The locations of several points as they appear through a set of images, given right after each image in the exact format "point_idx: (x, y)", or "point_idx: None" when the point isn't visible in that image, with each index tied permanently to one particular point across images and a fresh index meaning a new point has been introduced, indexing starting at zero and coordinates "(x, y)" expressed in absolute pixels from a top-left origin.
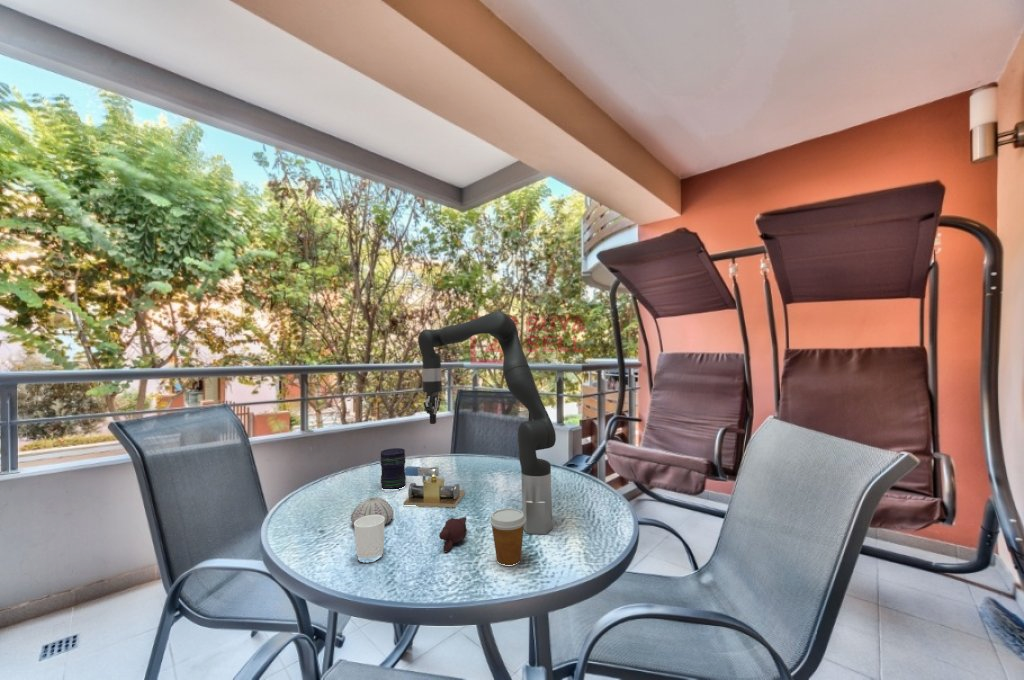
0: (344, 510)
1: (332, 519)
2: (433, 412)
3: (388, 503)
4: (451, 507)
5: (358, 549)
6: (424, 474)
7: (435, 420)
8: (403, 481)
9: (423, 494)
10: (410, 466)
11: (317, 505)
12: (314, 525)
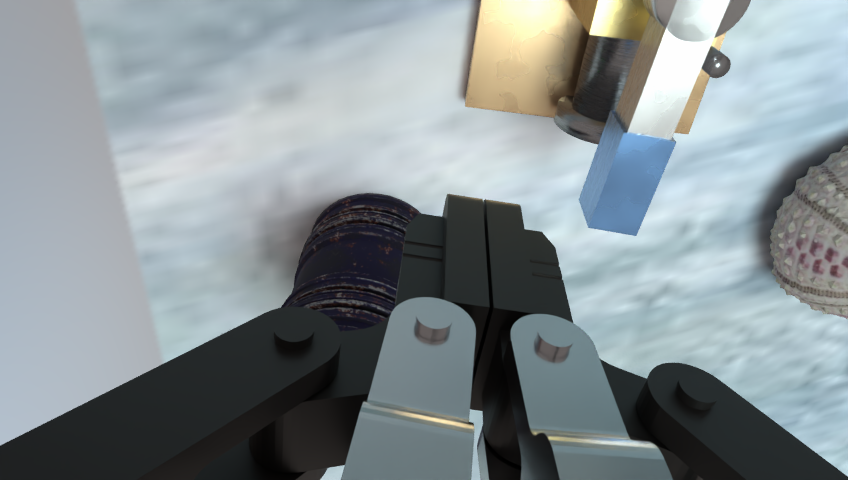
0: (657, 359)
1: (749, 369)
2: (710, 379)
3: (841, 194)
4: None
5: None
6: (723, 61)
7: (499, 225)
8: (389, 217)
9: None
10: (600, 207)
11: None
12: (790, 403)
